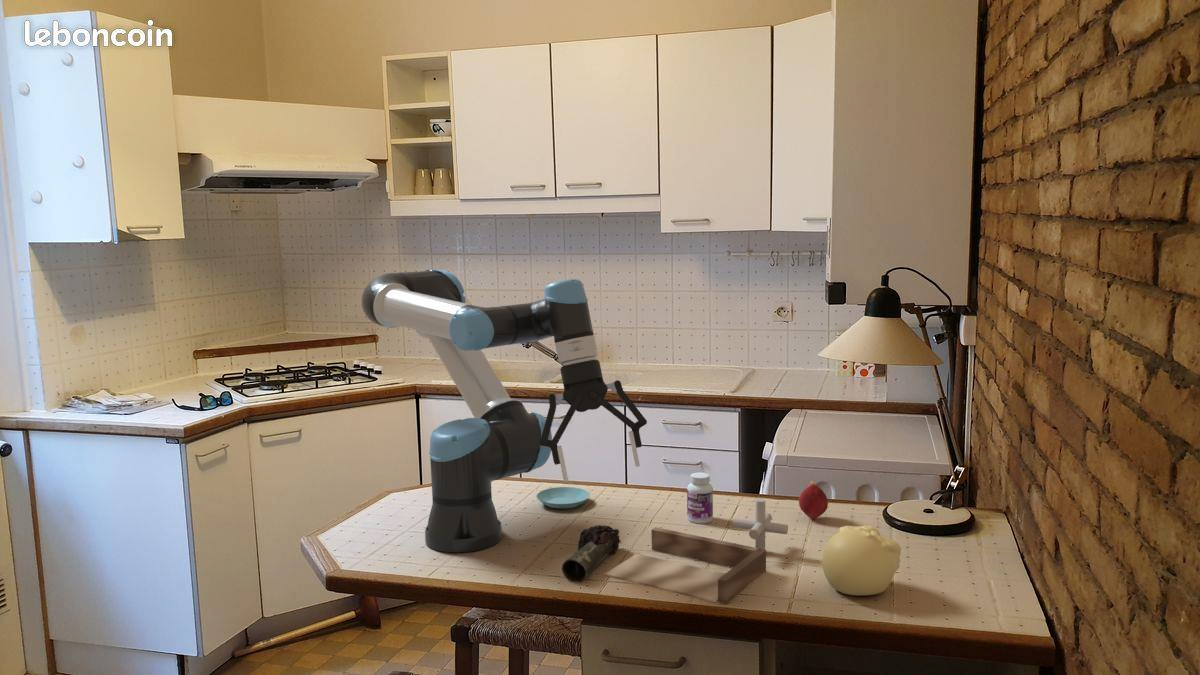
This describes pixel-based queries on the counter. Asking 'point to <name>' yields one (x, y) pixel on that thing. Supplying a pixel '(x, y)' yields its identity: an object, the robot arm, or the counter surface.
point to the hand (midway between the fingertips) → (602, 473)
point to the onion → (813, 501)
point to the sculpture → (860, 560)
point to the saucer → (563, 497)
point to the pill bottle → (700, 498)
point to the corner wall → (715, 558)
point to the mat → (669, 576)
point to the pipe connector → (760, 525)
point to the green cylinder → (591, 552)
